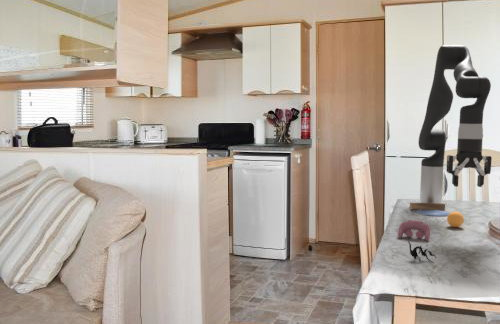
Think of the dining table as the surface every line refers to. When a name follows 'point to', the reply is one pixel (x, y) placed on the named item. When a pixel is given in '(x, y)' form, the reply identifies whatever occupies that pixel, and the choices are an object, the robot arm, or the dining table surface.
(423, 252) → the creature
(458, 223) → the ball
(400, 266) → the dining table surface
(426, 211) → the mark
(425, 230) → the video game controller
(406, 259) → the dining table surface
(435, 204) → the strip
